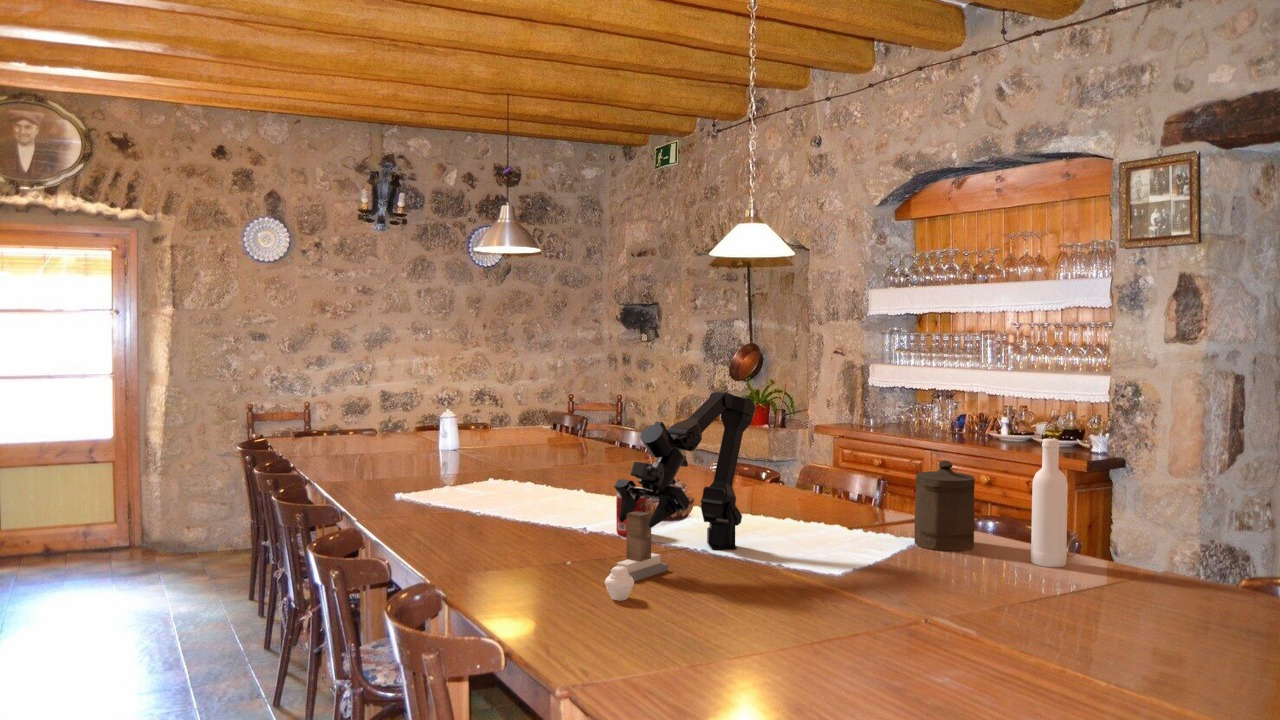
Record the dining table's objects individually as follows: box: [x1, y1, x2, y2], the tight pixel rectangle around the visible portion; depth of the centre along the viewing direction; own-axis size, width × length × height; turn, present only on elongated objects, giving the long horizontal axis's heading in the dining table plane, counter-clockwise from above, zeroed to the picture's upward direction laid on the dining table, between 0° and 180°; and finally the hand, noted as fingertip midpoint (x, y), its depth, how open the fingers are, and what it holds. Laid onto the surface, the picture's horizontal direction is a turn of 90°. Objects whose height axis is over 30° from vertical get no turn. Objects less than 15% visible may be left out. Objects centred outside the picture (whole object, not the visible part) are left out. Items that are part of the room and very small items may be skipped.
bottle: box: [1030, 438, 1069, 568], centre depth 229 cm, size 8×8×30 cm
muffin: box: [604, 565, 635, 602], centre depth 200 cm, size 6×6×7 cm
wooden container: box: [914, 459, 976, 552], centre depth 249 cm, size 15×15×22 cm
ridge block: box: [608, 552, 669, 583], centre depth 220 cm, size 13×7×4 cm, turn 141°
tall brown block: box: [626, 511, 652, 562], centre depth 220 cm, size 4×4×10 cm
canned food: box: [615, 492, 647, 538], centre depth 261 cm, size 8×8×11 cm
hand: (635, 523), depth 218 cm, fingers open, 8 cm apart
